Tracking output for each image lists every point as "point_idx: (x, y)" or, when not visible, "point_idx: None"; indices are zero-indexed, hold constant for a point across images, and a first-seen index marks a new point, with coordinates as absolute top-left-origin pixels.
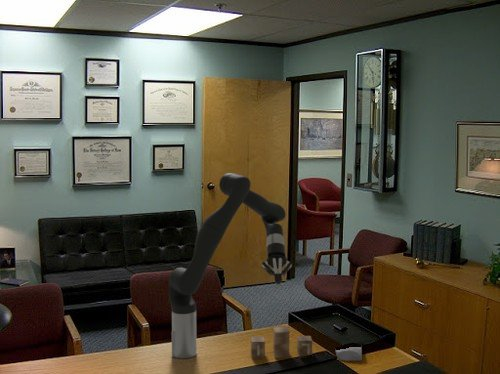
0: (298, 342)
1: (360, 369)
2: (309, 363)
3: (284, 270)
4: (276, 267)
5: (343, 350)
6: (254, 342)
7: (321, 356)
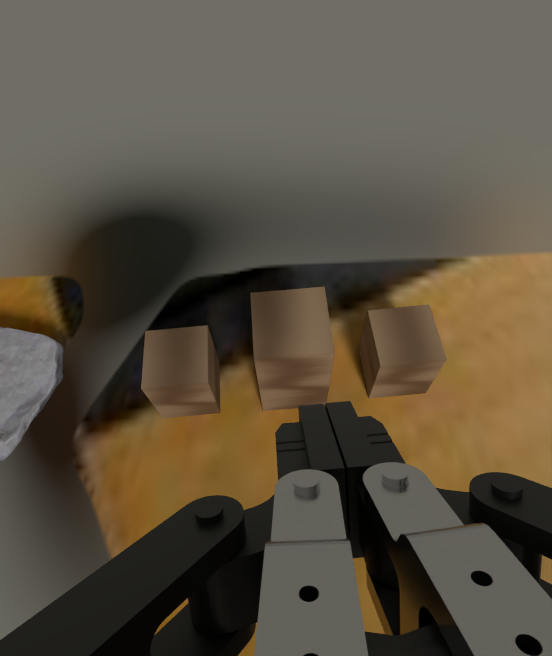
0: (210, 353)
1: (24, 277)
2: (187, 311)
3: (204, 515)
4: (411, 534)
5: (27, 343)
6: (415, 308)
7: (125, 373)
